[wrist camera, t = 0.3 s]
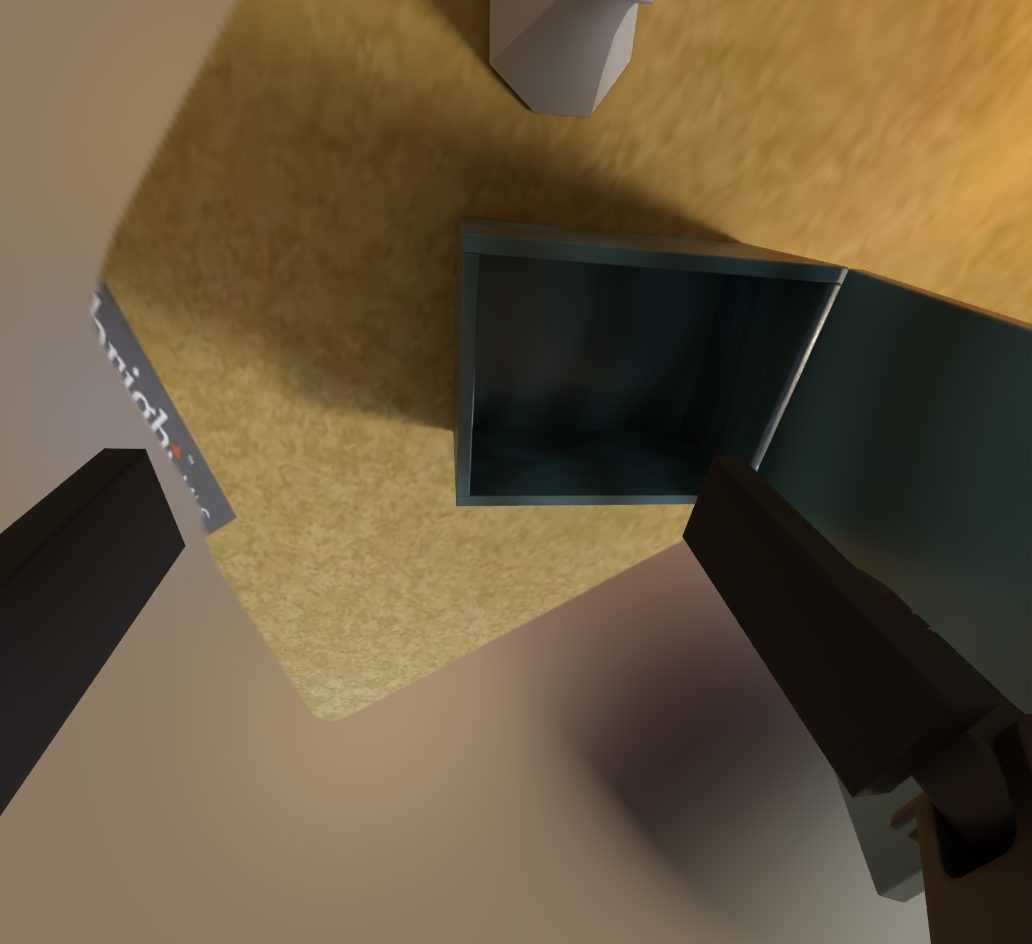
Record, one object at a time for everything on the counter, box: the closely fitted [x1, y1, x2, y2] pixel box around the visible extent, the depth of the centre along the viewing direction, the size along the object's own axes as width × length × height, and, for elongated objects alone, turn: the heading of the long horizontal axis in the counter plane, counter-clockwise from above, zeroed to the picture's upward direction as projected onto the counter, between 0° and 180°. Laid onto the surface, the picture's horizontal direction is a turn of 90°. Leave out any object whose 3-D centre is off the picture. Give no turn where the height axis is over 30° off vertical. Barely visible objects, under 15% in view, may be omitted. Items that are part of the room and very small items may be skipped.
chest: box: [453, 216, 848, 506], centre depth 26 cm, size 17×13×9 cm
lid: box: [757, 269, 1032, 902], centre depth 16 cm, size 18×13×1 cm
